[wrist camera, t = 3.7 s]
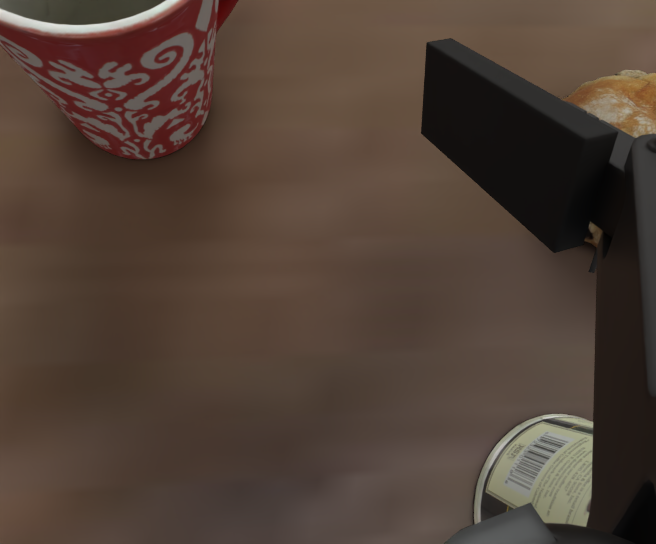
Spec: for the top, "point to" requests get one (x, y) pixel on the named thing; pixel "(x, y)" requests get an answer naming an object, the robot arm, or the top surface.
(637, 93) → the bread roll
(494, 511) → the coffee can
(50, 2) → the mug
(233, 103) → the top surface
